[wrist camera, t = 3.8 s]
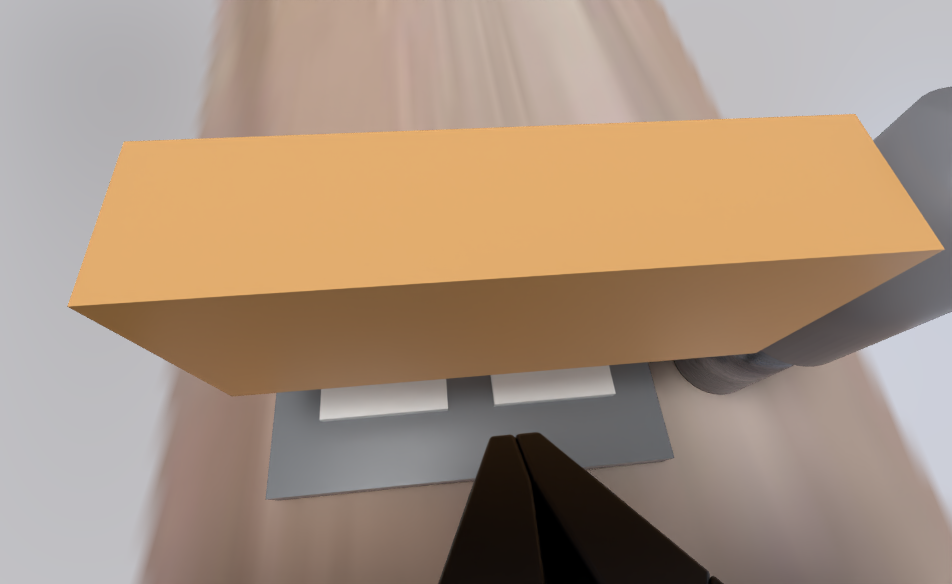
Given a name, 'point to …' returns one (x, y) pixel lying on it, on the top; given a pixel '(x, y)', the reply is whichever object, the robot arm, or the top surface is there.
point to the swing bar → (522, 247)
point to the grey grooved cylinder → (729, 371)
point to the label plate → (458, 427)
